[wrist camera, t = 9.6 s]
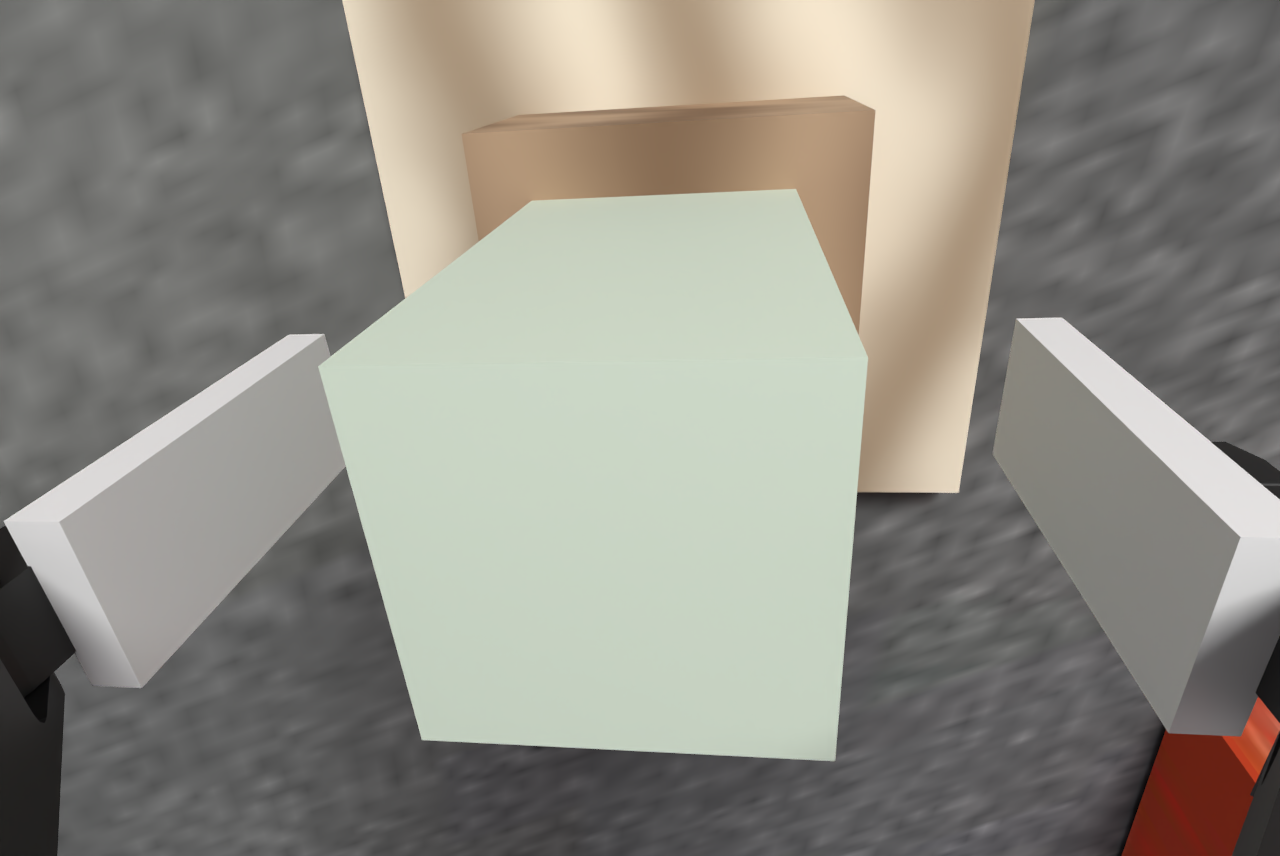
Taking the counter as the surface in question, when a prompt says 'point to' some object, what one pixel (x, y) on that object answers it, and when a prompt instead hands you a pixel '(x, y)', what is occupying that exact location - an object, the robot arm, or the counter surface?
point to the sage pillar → (616, 478)
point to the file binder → (1201, 790)
